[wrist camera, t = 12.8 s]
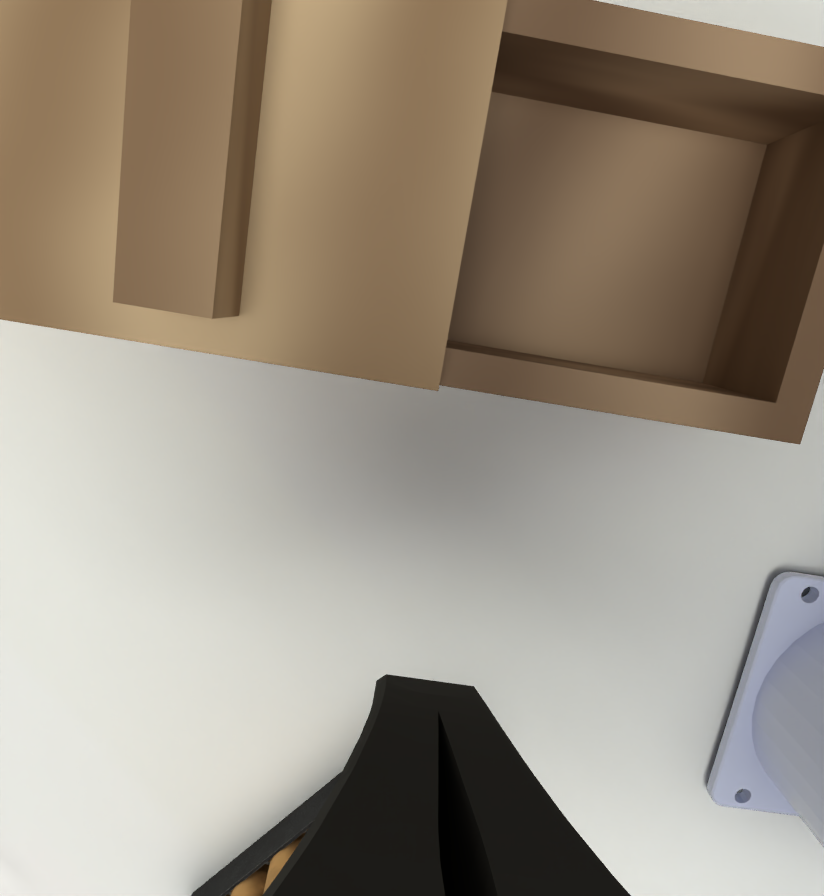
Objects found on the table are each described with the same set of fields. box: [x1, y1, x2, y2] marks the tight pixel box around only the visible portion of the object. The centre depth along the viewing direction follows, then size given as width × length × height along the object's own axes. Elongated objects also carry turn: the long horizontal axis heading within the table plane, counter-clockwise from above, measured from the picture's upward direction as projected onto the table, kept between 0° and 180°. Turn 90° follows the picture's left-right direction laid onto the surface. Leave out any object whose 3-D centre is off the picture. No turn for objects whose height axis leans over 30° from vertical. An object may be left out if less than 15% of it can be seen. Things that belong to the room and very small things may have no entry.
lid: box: [0, 0, 508, 391], centre depth 11 cm, size 15×8×3 cm, turn 80°
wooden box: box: [439, 0, 824, 444], centre depth 15 cm, size 14×8×4 cm, turn 80°
